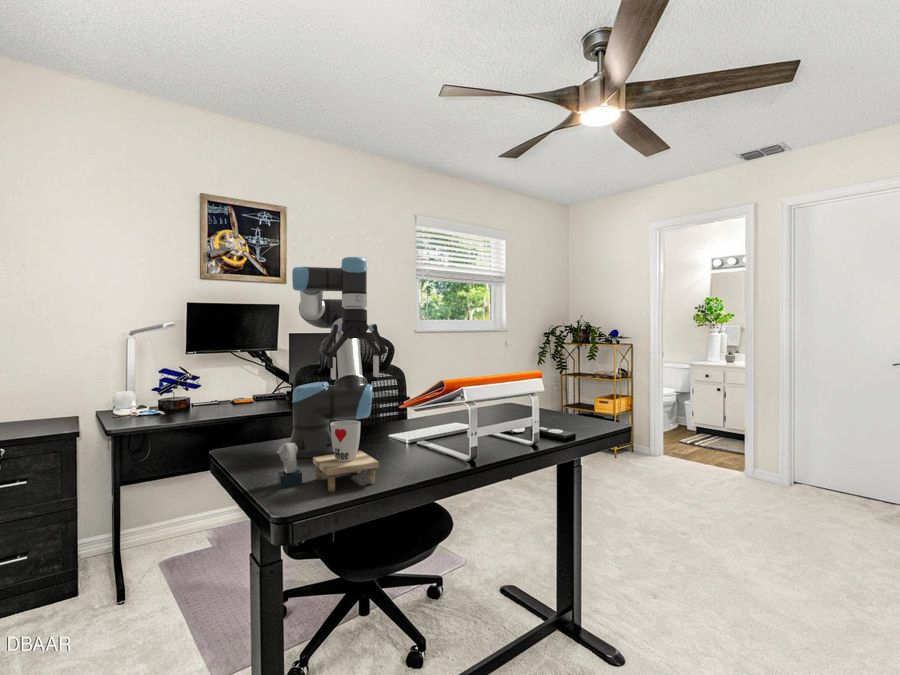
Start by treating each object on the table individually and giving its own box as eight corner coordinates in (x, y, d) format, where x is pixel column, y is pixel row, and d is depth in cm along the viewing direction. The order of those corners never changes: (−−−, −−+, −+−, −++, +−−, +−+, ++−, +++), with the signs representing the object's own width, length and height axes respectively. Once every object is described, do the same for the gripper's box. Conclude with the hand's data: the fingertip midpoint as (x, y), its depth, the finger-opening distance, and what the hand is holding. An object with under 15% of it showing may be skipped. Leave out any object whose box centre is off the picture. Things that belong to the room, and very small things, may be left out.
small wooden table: (313, 478, 134) (312, 457, 133) (360, 470, 141) (360, 450, 141) (327, 493, 122) (327, 470, 121) (379, 484, 129) (378, 461, 129)
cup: (324, 460, 131) (324, 423, 130) (348, 453, 137) (347, 419, 137) (343, 465, 125) (343, 427, 125) (367, 458, 132) (366, 422, 131)
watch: (297, 478, 134) (297, 439, 134) (303, 486, 127) (302, 445, 127) (276, 481, 131) (276, 441, 131) (281, 490, 124) (280, 448, 124)
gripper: (316, 307, 137) (317, 381, 137) (397, 308, 149) (397, 376, 150) (310, 308, 143) (311, 379, 144) (387, 309, 156) (388, 374, 156)
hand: (355, 377), depth 147 cm, fingers open, 13 cm apart
